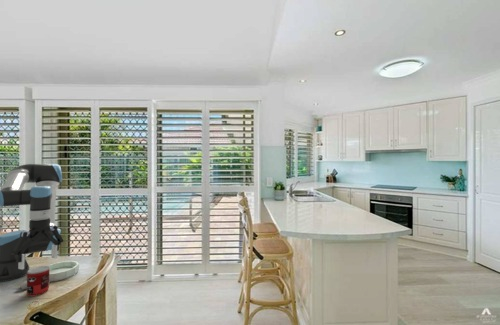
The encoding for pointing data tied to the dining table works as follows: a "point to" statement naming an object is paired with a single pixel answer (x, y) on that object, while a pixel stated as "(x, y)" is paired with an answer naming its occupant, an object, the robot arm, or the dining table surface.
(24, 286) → the pebble
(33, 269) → the canned food
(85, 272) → the dining table surface
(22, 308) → the dining table surface
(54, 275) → the bowl
